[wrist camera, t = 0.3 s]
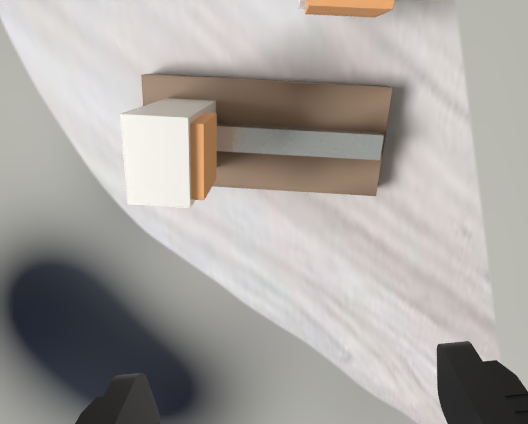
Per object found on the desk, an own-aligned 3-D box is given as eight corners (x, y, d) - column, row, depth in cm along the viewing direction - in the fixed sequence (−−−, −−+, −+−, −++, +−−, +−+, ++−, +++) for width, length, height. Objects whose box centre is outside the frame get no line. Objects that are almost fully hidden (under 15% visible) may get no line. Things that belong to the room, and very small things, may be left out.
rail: (149, 73, 34) (82, 81, 23) (386, 86, 34) (437, 100, 22) (154, 176, 37) (98, 226, 26) (371, 189, 37) (409, 246, 26)
